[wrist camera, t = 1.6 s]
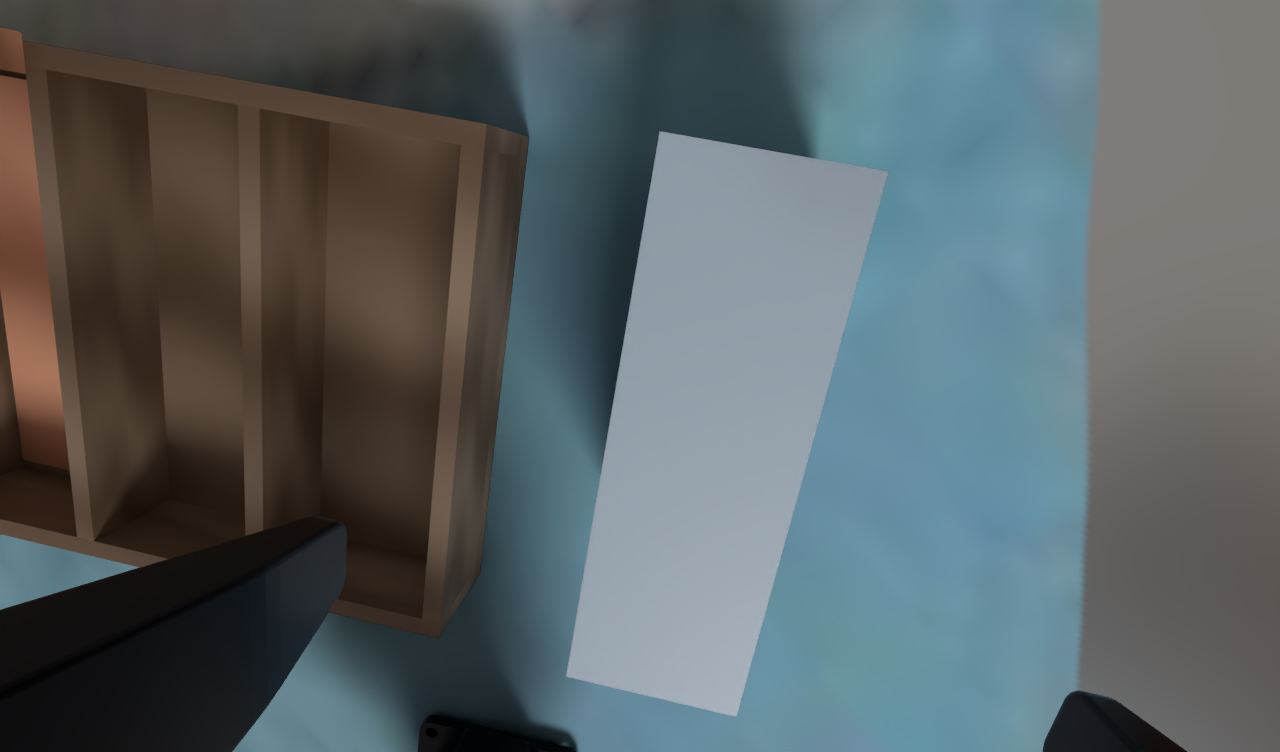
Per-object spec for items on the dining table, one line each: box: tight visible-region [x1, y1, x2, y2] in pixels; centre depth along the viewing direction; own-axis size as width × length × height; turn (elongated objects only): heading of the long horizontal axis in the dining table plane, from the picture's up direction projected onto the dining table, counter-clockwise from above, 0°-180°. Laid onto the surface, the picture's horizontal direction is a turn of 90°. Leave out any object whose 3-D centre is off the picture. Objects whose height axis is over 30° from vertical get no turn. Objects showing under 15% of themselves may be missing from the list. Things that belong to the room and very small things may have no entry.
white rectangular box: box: [566, 131, 888, 717], centre depth 16 cm, size 12×4×8 cm, turn 170°
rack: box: [0, 27, 529, 639], centre depth 20 cm, size 16×19×4 cm
